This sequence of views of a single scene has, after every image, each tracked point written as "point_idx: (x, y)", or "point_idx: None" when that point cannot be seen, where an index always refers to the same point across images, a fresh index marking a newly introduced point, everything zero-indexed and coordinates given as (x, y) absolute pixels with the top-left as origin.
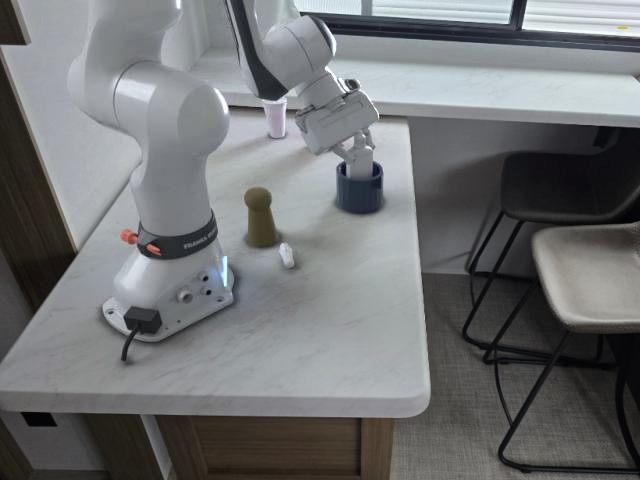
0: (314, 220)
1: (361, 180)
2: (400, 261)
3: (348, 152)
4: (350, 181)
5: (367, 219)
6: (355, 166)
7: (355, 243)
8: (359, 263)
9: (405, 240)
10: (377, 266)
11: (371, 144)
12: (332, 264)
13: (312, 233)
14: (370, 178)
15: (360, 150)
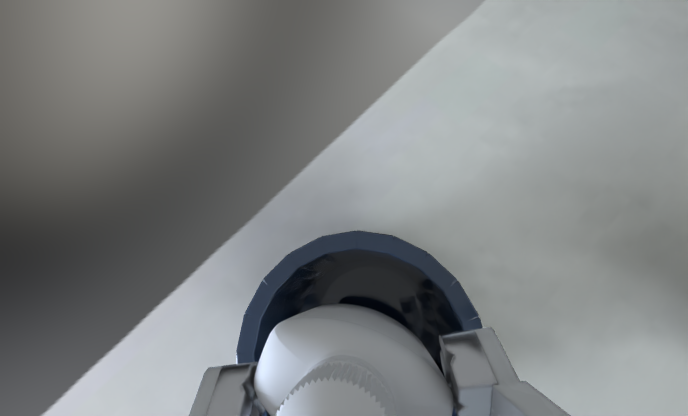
0: (576, 354)
1: (431, 266)
2: (492, 35)
3: (502, 394)
4: (473, 306)
5: (422, 231)
6: (415, 345)
7: (541, 163)
8: (593, 90)
9: (413, 88)
10: (558, 54)
11: (219, 392)
12: (666, 132)
13: (630, 295)
14: (381, 251)
15: (379, 358)
